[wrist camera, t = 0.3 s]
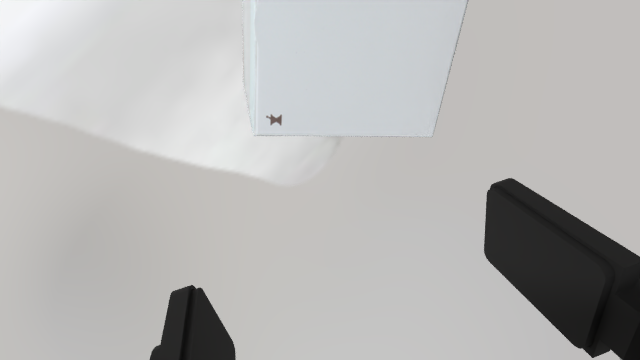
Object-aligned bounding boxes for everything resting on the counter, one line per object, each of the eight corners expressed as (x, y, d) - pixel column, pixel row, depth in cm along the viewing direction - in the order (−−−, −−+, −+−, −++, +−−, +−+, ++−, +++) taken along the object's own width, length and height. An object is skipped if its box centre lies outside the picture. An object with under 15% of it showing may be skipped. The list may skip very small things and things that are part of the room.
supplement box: (356, 89, 39) (435, 142, 24) (241, 83, 36) (250, 140, 21) (375, -45, 33) (496, -85, 18) (240, -68, 30) (251, -139, 15)
